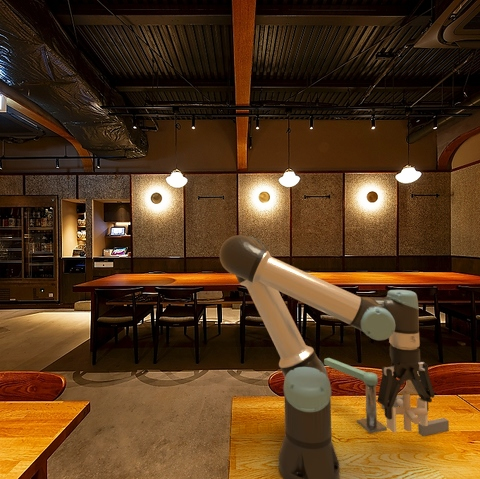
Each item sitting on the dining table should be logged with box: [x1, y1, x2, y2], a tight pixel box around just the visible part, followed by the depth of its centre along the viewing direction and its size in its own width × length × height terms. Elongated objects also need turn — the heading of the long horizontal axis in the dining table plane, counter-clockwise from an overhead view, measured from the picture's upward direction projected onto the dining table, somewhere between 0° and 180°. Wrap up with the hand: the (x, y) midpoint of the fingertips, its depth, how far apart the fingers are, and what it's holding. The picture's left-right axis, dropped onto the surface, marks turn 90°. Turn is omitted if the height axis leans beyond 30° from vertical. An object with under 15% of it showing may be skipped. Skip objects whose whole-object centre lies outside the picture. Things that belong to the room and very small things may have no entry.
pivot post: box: [356, 384, 388, 434], centre depth 94 cm, size 6×6×13 cm
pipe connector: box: [395, 390, 429, 432], centre depth 83 cm, size 10×10×10 cm
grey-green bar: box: [323, 357, 378, 386], centre depth 101 cm, size 20×4×2 cm, turn 32°
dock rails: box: [380, 395, 450, 437], centre depth 98 cm, size 10×17×3 cm, turn 15°
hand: (407, 426), depth 83 cm, fingers closed on pipe connector, 10 cm apart
